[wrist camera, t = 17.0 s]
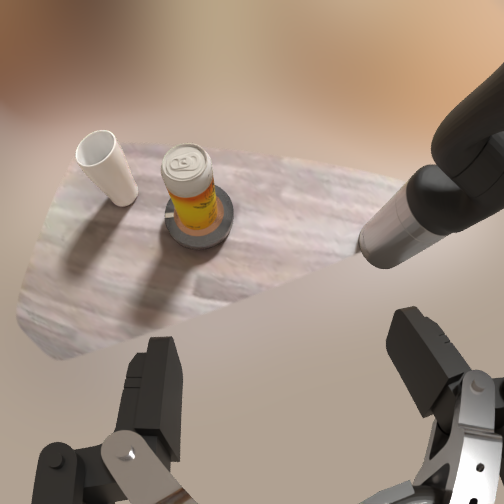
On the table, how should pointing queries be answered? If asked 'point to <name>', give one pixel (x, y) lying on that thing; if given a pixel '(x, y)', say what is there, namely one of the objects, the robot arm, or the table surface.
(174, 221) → the disc
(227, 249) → the table surface
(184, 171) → the beer can
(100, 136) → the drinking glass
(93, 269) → the table surface
